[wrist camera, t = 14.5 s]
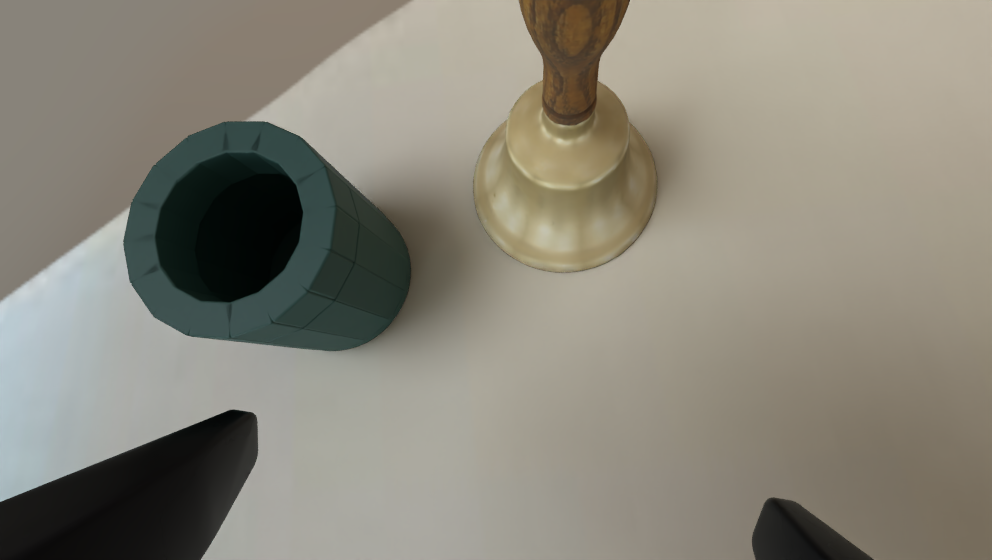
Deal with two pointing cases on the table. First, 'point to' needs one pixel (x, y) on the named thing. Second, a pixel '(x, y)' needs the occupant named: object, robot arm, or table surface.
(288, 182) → the jar
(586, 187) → the hand bell
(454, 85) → the table surface
